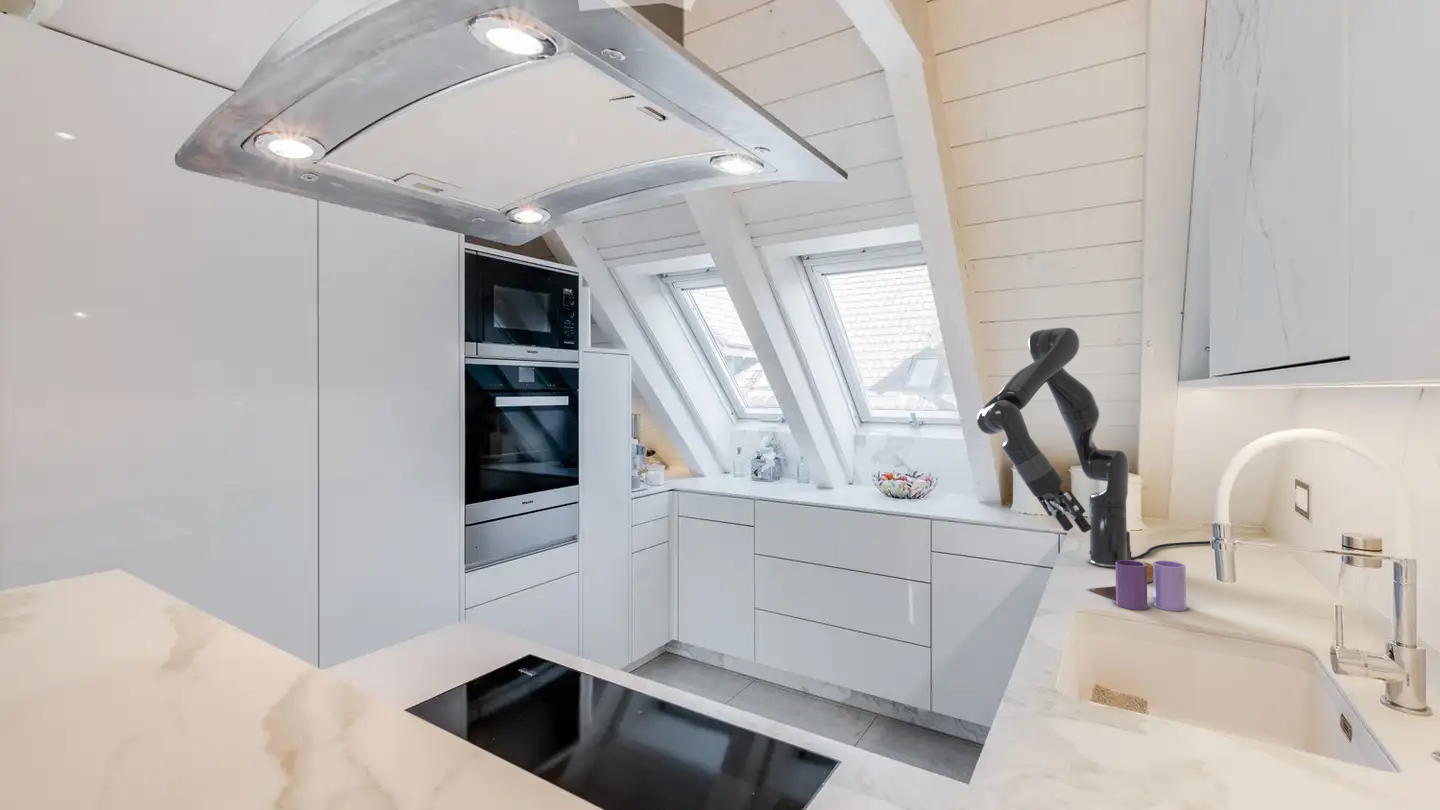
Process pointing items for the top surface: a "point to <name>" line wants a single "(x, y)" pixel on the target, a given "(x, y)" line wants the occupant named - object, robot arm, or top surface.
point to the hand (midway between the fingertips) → (1078, 529)
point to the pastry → (1149, 572)
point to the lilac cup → (1169, 585)
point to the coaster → (1106, 591)
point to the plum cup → (1131, 584)
